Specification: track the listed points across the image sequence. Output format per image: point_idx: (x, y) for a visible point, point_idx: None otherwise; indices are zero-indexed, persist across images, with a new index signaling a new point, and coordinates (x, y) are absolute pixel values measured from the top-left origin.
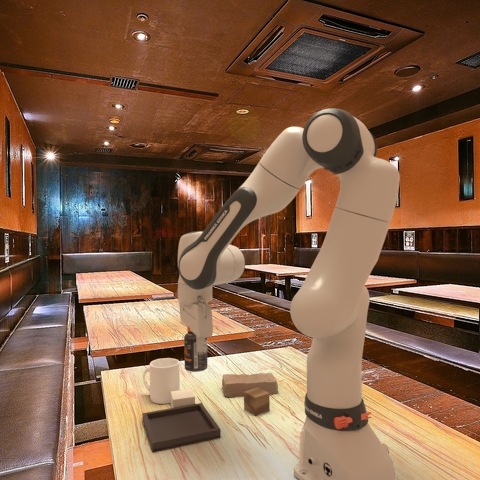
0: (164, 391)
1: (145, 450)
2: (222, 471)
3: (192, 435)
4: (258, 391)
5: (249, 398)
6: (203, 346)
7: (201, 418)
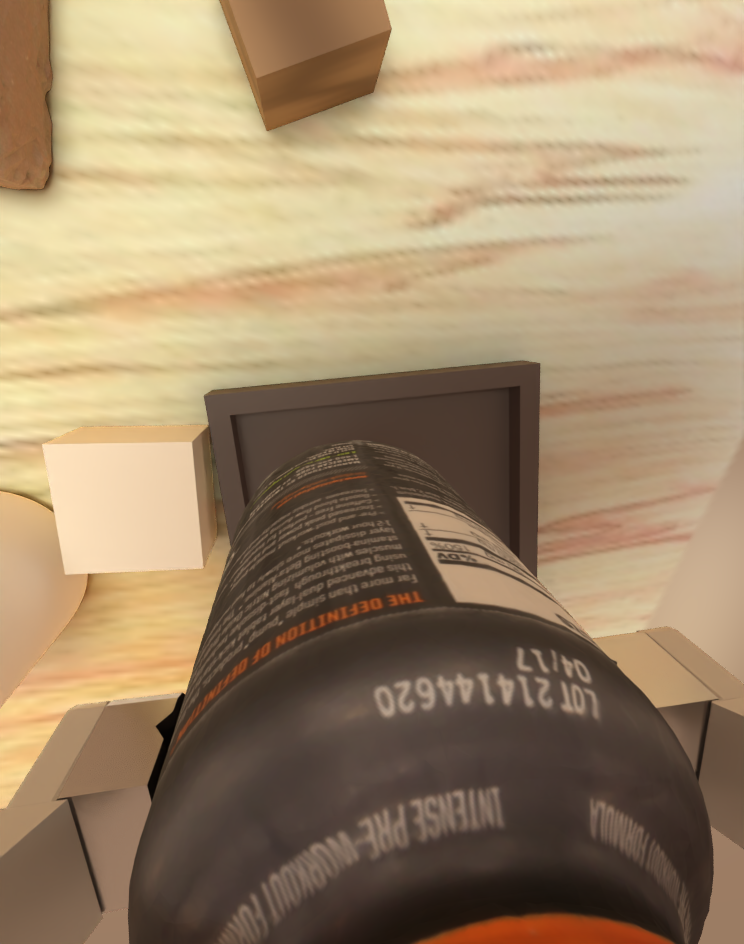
0: (61, 608)
1: None
2: (734, 411)
3: (536, 495)
4: None
5: (322, 68)
6: (720, 665)
7: (338, 416)
